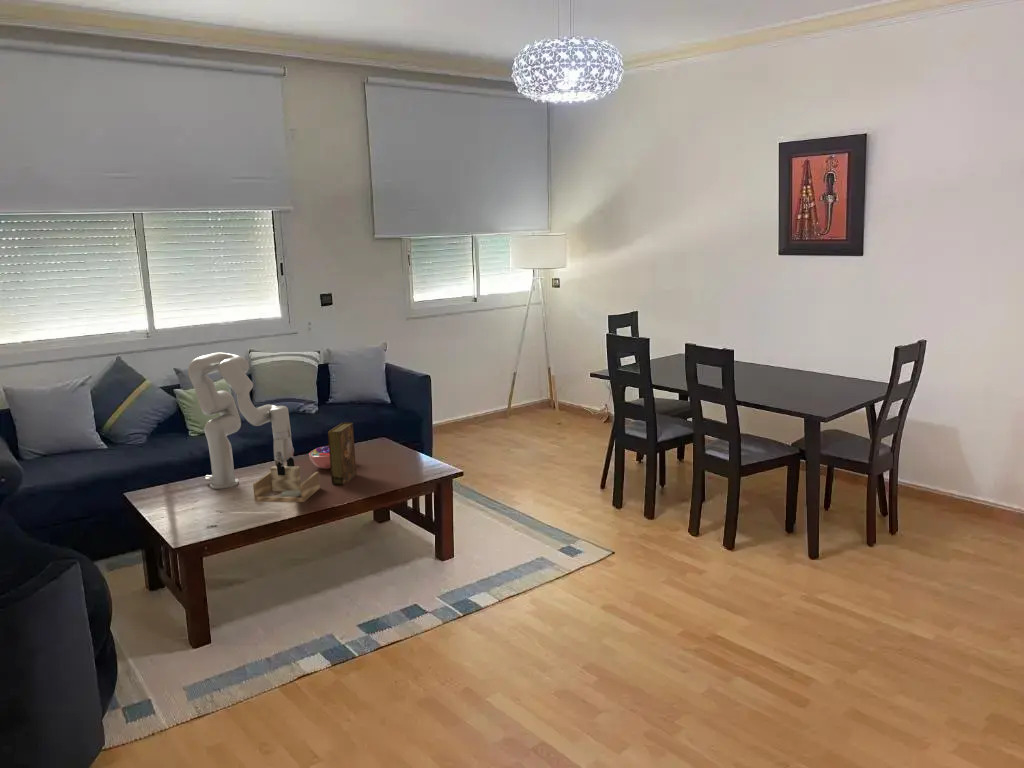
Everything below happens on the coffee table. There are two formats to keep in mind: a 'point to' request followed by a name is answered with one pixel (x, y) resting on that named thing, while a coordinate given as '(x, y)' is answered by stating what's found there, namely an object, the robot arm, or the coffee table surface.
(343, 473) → the book
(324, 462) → the cell model
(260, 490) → the pine rack
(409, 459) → the coffee table surface
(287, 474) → the birch sheet
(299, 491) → the offcut slab top
